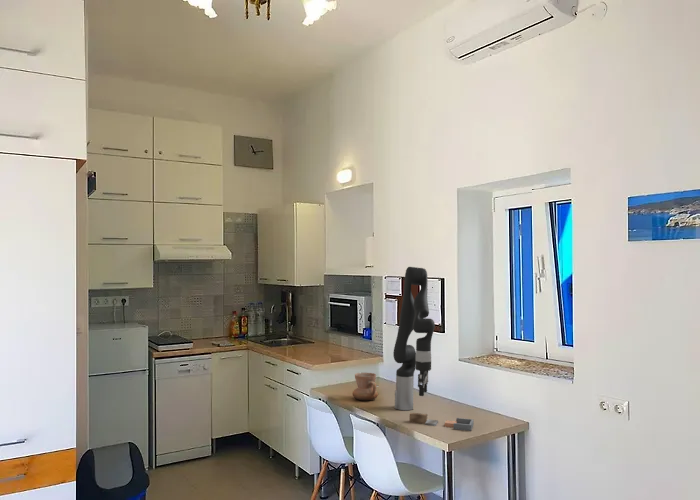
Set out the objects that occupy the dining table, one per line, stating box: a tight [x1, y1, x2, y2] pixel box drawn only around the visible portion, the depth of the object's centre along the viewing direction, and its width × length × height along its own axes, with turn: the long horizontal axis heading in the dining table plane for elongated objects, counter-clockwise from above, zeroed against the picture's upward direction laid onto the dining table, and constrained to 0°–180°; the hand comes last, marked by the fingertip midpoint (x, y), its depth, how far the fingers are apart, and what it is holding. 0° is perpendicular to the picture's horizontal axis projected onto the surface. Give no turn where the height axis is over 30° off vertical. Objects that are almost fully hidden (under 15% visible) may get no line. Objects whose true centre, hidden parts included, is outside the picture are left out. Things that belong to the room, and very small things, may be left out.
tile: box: [444, 419, 457, 428], centre depth 258 cm, size 5×5×2 cm
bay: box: [453, 417, 475, 432], centre depth 256 cm, size 8×11×2 cm
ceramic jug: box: [351, 372, 379, 402], centre depth 309 cm, size 18×14×14 cm
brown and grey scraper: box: [409, 412, 439, 427], centre depth 262 cm, size 13×7×4 cm, turn 72°
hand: (423, 394), depth 263 cm, fingers open, 8 cm apart
